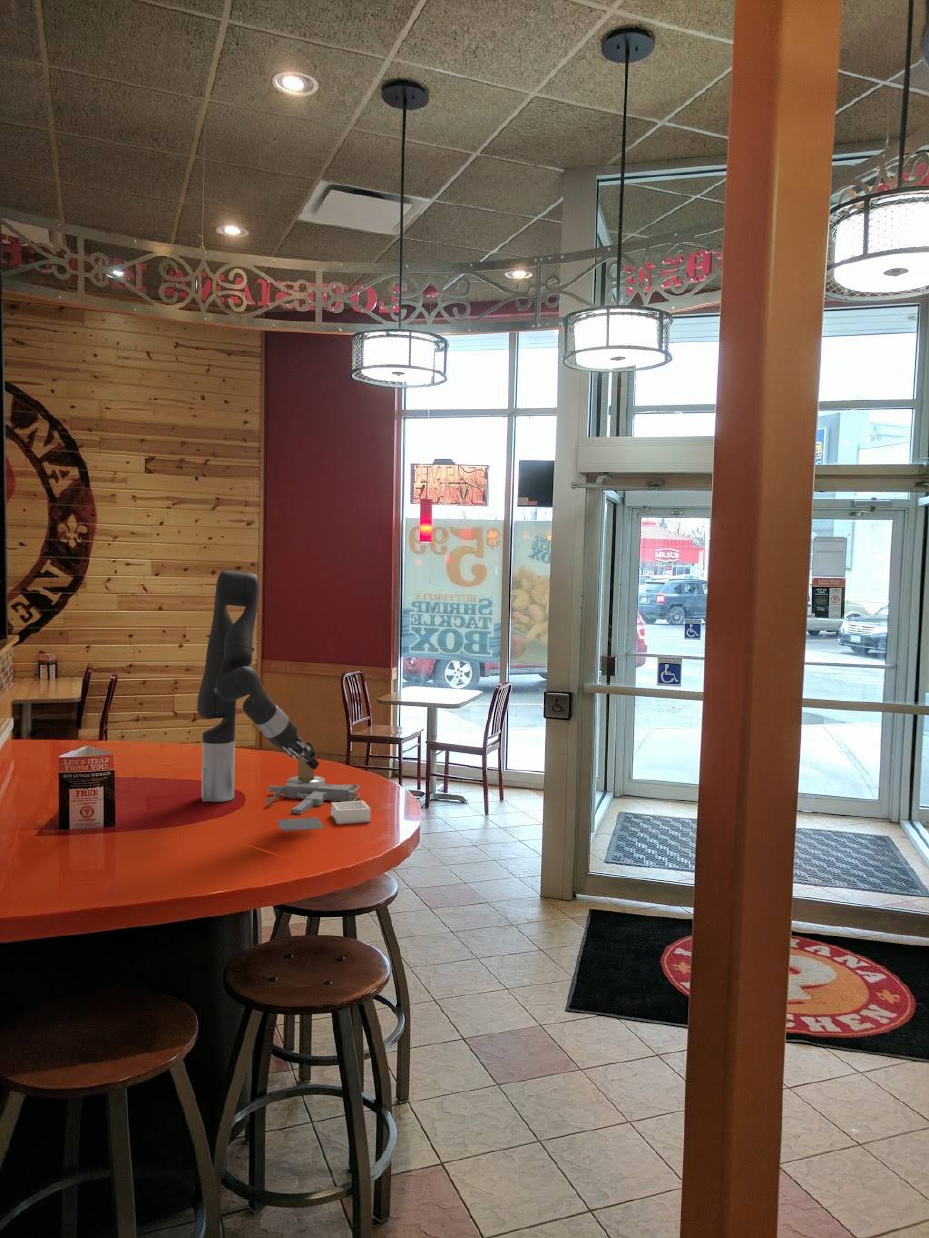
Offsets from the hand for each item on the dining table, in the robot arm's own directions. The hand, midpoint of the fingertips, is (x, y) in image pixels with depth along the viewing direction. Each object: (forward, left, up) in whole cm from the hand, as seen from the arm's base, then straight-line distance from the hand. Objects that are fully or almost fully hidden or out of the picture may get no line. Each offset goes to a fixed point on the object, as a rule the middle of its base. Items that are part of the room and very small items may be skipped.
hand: (312, 765), depth 241 cm
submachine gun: (+1, +22, -16) cm, 27 cm away
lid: (-2, -1, -5) cm, 5 cm away
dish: (+11, +1, -16) cm, 19 cm away
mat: (-3, -1, -16) cm, 16 cm away
